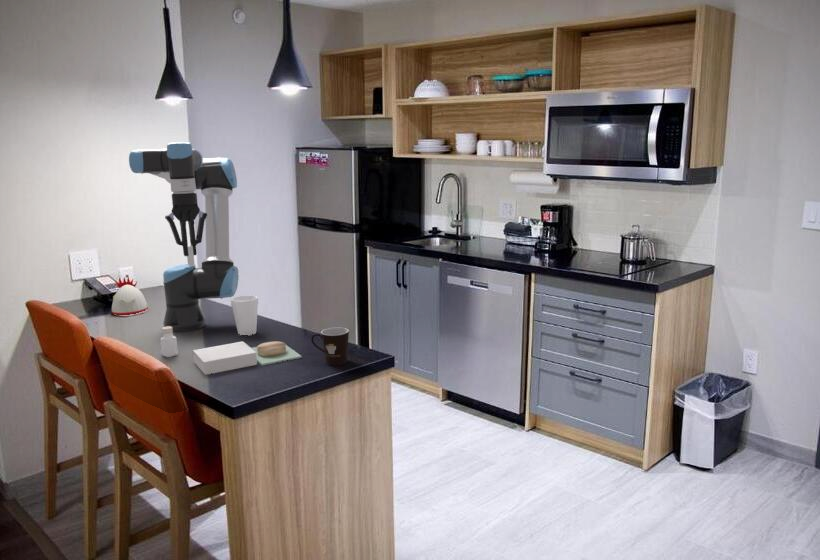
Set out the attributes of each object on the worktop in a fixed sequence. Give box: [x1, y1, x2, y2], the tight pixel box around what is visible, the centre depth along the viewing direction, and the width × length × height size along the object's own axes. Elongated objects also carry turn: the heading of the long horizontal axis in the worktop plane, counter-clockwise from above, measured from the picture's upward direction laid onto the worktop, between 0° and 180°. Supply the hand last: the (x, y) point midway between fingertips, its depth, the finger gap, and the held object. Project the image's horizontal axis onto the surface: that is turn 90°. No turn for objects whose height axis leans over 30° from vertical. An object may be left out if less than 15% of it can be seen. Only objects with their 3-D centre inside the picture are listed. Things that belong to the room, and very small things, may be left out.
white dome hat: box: [111, 276, 149, 315], centre depth 280 cm, size 14×14×15 cm
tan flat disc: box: [256, 340, 286, 357], centre depth 220 cm, size 9×9×2 cm
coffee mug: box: [310, 326, 350, 366], centre depth 211 cm, size 12×9×10 cm
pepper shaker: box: [160, 326, 179, 358], centre depth 222 cm, size 4×4×10 cm
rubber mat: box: [250, 344, 302, 367], centre depth 221 cm, size 18×13×1 cm
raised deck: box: [192, 340, 258, 376], centre depth 213 cm, size 14×16×4 cm
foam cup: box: [230, 294, 259, 336], centre depth 245 cm, size 10×9×13 cm
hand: (191, 265), depth 219 cm, fingers closed
